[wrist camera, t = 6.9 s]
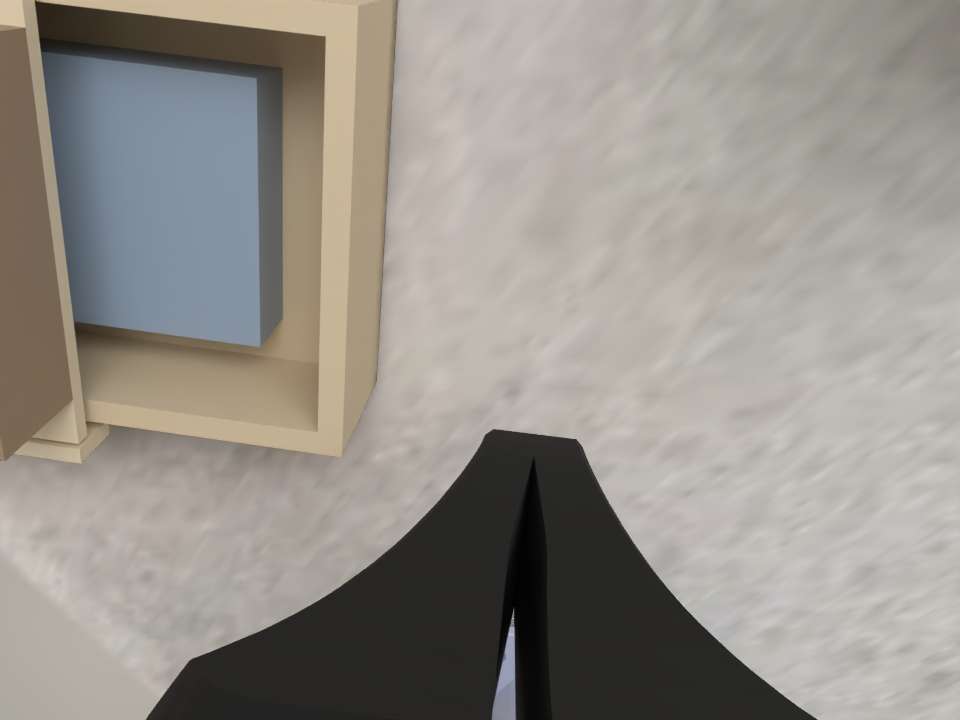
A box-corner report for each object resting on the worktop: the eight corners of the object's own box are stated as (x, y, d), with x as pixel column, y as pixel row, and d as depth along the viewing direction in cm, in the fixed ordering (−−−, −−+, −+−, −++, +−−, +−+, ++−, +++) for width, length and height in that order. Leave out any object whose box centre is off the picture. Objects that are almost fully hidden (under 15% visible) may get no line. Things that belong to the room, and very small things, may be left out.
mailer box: (376, 380, 24) (341, 457, 20) (-103, 314, 24) (-219, 377, 21) (397, -5, 19) (357, 5, 16) (-189, -75, 20) (-356, -79, 16)
